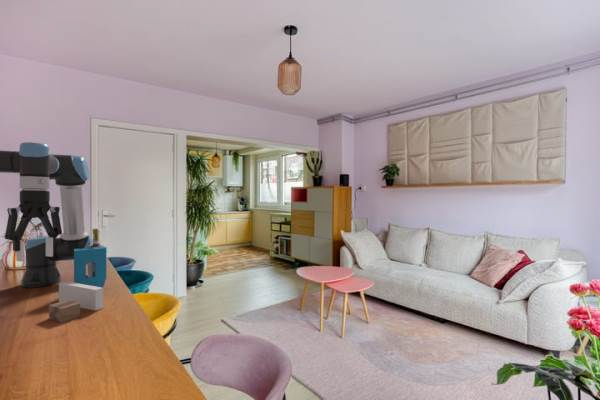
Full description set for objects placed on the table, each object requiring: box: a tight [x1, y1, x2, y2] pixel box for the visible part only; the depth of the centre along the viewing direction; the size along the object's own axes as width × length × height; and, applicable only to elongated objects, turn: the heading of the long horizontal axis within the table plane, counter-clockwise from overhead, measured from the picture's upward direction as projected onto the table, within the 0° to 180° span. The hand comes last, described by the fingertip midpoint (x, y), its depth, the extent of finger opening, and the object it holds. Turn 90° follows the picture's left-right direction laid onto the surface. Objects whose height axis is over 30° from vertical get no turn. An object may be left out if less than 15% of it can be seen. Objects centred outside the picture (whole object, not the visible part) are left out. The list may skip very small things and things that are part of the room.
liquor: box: [87, 228, 105, 277], centre depth 145 cm, size 7×7×28 cm
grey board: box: [58, 280, 104, 312], centre depth 122 cm, size 22×3×8 cm, turn 68°
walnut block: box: [48, 300, 81, 324], centre depth 110 cm, size 8×6×5 cm
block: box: [73, 246, 108, 289], centre depth 137 cm, size 12×5×20 cm, turn 126°
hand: (35, 258), depth 101 cm, fingers open, 8 cm apart
